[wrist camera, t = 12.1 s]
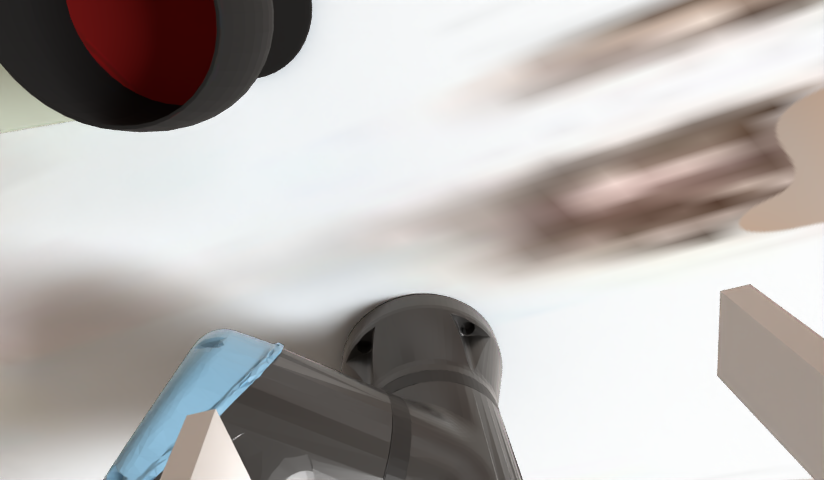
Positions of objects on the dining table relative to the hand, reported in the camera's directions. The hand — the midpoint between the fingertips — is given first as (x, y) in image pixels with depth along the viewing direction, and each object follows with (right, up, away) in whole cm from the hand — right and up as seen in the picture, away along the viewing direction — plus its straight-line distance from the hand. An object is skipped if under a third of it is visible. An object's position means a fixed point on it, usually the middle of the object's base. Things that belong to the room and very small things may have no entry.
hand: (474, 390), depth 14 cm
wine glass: (-14, +21, +23) cm, 34 cm away
